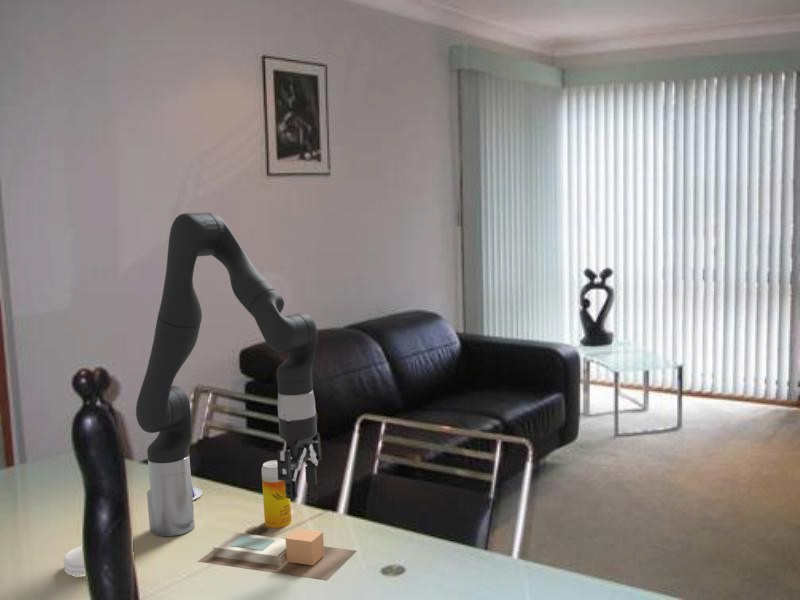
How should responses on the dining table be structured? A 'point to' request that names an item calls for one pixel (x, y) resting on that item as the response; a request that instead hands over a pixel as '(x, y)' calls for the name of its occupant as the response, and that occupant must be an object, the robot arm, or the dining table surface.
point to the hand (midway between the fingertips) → (302, 490)
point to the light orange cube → (304, 547)
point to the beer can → (275, 497)
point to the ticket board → (293, 568)
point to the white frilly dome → (74, 562)
